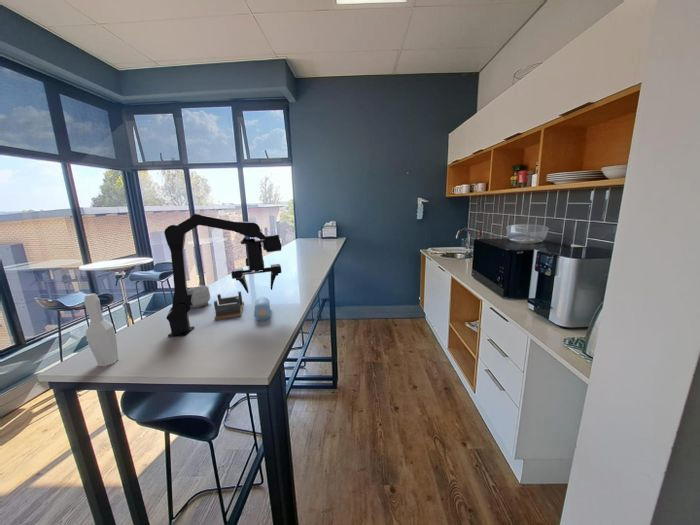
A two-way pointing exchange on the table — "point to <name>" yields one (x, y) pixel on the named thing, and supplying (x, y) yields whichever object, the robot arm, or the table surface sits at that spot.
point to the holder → (228, 307)
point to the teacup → (200, 296)
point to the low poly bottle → (100, 333)
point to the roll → (262, 309)
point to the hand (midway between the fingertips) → (259, 291)
